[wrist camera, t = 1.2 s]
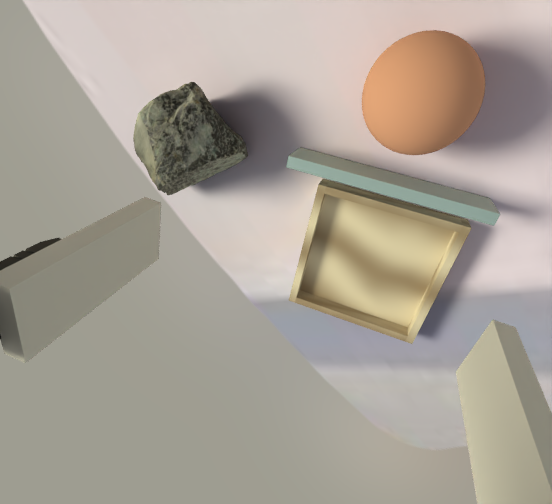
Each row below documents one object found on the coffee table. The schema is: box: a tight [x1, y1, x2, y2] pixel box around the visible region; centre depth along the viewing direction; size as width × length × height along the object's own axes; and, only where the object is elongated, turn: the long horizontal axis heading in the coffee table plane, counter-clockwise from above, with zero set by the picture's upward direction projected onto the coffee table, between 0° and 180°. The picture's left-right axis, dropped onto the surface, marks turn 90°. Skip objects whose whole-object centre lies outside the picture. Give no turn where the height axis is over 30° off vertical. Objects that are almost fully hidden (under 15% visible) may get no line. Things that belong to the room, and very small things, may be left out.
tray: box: [289, 179, 471, 344], centre depth 35 cm, size 13×13×2 cm
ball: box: [362, 30, 485, 155], centre depth 25 cm, size 8×8×8 cm
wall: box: [286, 147, 500, 226], centre depth 31 cm, size 1×17×4 cm, turn 79°
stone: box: [133, 82, 248, 195], centre depth 33 cm, size 10×10×10 cm
